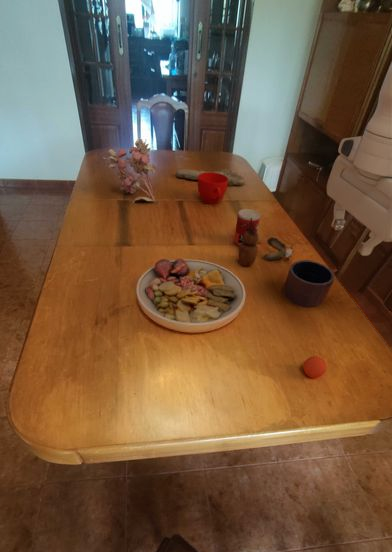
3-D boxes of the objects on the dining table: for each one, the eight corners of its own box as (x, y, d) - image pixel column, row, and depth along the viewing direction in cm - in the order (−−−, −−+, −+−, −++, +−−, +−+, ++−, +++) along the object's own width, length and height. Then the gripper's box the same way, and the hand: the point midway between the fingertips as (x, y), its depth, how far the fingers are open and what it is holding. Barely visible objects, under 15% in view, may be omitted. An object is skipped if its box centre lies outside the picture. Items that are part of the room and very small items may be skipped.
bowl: (263, 305, 92) (269, 283, 86) (189, 357, 76) (191, 333, 71) (191, 262, 105) (192, 240, 100) (115, 298, 90) (112, 275, 84)
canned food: (237, 249, 114) (242, 219, 106) (230, 238, 119) (235, 208, 111) (257, 248, 115) (263, 218, 107) (250, 237, 120) (255, 208, 112)
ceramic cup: (202, 212, 133) (204, 187, 126) (193, 196, 144) (194, 172, 137) (231, 211, 136) (235, 186, 129) (220, 195, 147) (223, 172, 140)
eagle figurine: (288, 249, 114) (264, 242, 113) (297, 239, 107) (272, 231, 106) (284, 268, 112) (260, 261, 111) (293, 260, 105) (268, 252, 104)
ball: (317, 365, 77) (325, 351, 73) (325, 382, 74) (333, 368, 70) (297, 366, 77) (304, 352, 73) (304, 382, 73) (311, 368, 70)
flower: (169, 185, 147) (143, 125, 131) (173, 200, 130) (144, 133, 114) (131, 205, 150) (101, 149, 134) (131, 221, 134) (96, 159, 117)
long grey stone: (178, 175, 165) (173, 183, 159) (177, 164, 161) (173, 171, 155) (245, 180, 161) (243, 188, 155) (246, 169, 157) (245, 176, 151)
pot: (316, 282, 102) (325, 260, 96) (330, 307, 93) (341, 285, 88) (278, 282, 101) (285, 260, 95) (289, 307, 92) (297, 284, 86)
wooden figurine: (236, 257, 109) (243, 214, 99) (252, 259, 110) (262, 216, 99) (237, 268, 105) (245, 224, 94) (254, 269, 105) (264, 226, 94)
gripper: (453, 180, 42) (398, 270, 52) (367, 138, 56) (337, 216, 66) (413, 180, 41) (365, 272, 51) (335, 137, 55) (309, 216, 65)
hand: (348, 240), depth 59 cm, fingers open, 8 cm apart
